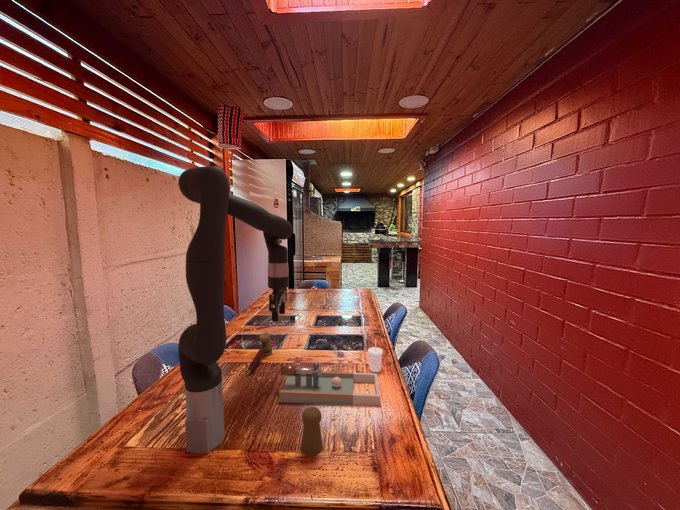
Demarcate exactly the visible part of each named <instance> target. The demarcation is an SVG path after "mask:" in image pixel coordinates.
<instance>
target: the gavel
mask: <svg viewBox="0 0 680 510" xmlns="http://www.w3.org/2000/svg"><path fill="white" fill-rule="evenodd" d="M258 337H259V341H260V343H261V348H259V350H258V351H257V352H256V354H255V356H254V358H253V359H252V361H251V363H249V366H248V367H247V371H246V376H249V375H250V374H252V372H254V371H255V369H256V368H257V365H258V363H260V360H261V359H262V358H263V357H269V356H271V355H272V353H273V348H272V346H271V335H270V333H269V332H263V333H261V334H259V336H258Z"/></svg>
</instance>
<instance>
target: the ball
mask: <svg viewBox="0 0 680 510" xmlns="http://www.w3.org/2000/svg"><path fill="white" fill-rule="evenodd" d="M332 385H333V386H334V387H339V386H340V385H341V379H340V378H339V377H334V378H333V379H332Z"/></svg>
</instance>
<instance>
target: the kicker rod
mask: <svg viewBox="0 0 680 510" xmlns="http://www.w3.org/2000/svg"><path fill="white" fill-rule="evenodd" d="M312 367H313V368H312ZM312 367H297V365H281V368H280V376H283V377H284V376H287V377H288V376H295V374H302V375H313V387H318V384H319V375H322V371H323V368H320V364H319V363H318V362H314V363H313V364H312Z"/></svg>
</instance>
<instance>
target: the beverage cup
mask: <svg viewBox="0 0 680 510" xmlns="http://www.w3.org/2000/svg"><path fill="white" fill-rule="evenodd" d="M367 351H368V352H367V353H368V366H369V368H368V369H369V370H370V371H371V372H372V373H373V372H374V373H379V372H380V371H381V370H382V359H383V353H384V350H383V349H382V348H381V347H378V346H377V338H375V339H374V347H373V346H372V347H370V348H368V349H367Z"/></svg>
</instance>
